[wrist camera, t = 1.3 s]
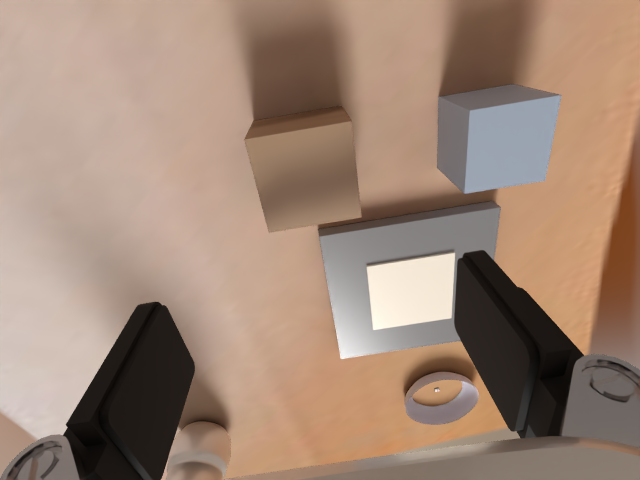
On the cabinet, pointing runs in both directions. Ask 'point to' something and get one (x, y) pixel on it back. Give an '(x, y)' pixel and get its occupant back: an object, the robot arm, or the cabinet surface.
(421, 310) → the building board
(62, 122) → the cabinet surface
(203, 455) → the plastic bottle
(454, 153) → the slate blue cube
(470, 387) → the lavender ring
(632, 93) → the cabinet surface
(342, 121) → the walnut block
